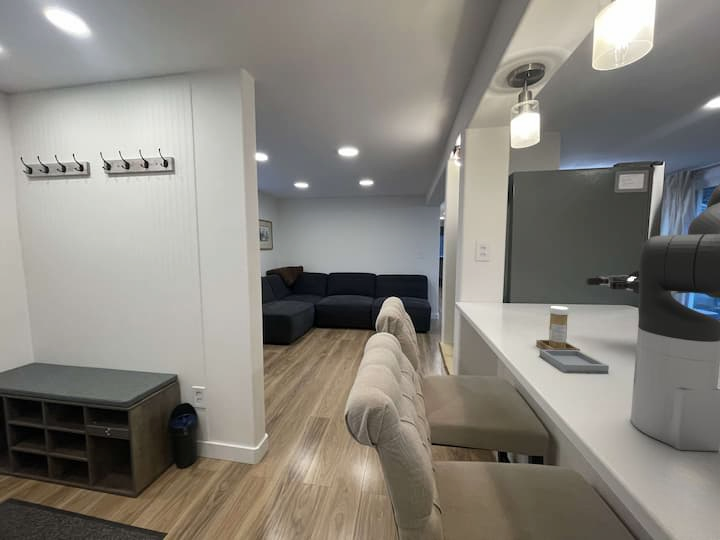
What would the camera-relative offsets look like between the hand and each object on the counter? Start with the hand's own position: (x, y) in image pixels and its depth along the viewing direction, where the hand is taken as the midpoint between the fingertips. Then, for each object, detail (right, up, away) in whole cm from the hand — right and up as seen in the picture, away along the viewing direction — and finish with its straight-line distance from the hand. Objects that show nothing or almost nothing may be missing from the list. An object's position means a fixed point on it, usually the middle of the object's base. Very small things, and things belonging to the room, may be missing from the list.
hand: (598, 283), depth 84 cm
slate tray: (-14, -21, -8) cm, 27 cm away
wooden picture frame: (-11, -20, +2) cm, 23 cm away
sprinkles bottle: (-11, -21, +2) cm, 24 cm away
